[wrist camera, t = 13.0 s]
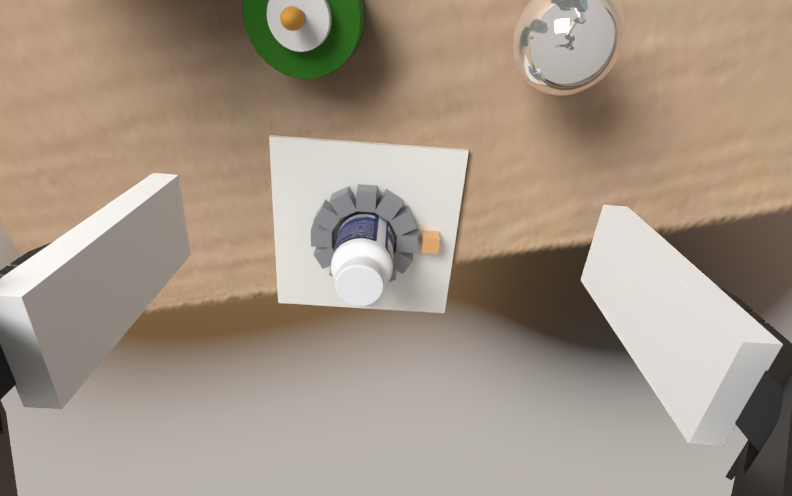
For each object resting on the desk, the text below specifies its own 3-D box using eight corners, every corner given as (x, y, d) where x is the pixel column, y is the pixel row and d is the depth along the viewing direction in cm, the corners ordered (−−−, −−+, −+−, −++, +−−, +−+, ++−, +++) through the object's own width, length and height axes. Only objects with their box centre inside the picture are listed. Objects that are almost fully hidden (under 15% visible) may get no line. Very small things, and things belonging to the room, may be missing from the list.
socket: (270, 134, 42) (263, 141, 40) (467, 149, 43) (471, 156, 40) (279, 299, 50) (274, 312, 48) (444, 310, 51) (446, 323, 49)
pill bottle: (328, 237, 46) (312, 291, 38) (360, 197, 44) (350, 244, 36) (372, 266, 48) (366, 324, 39) (404, 229, 46) (405, 281, 37)
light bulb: (516, 94, 40) (559, 127, 30) (475, 22, 38) (505, 29, 27) (591, 44, 38) (664, 59, 28) (552, -36, 36) (617, -53, 25)
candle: (385, 30, 38) (381, 38, 29) (307, 89, 40) (281, 113, 31) (322, -71, 35) (296, -96, 26) (241, 0, 37) (192, -1, 28)
